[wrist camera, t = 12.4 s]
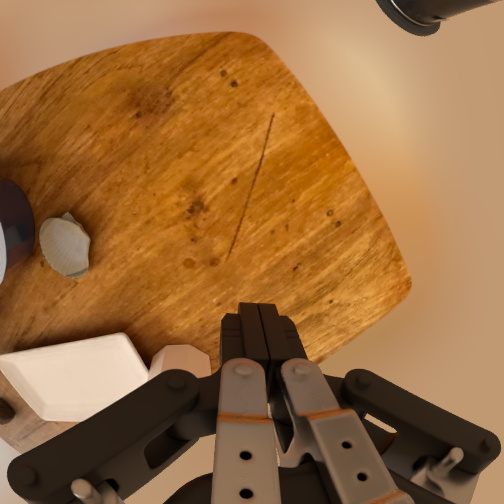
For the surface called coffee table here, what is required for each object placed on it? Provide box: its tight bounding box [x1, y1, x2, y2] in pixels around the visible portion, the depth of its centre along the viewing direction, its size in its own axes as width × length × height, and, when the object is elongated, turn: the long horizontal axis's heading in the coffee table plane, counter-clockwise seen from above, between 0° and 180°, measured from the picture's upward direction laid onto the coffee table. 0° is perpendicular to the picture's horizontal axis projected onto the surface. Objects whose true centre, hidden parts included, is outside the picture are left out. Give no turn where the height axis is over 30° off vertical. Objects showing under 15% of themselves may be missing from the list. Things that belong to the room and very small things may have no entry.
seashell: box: [39, 212, 90, 278], centre depth 28 cm, size 8×3×8 cm
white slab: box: [0, 332, 149, 422], centre depth 35 cm, size 17×31×4 cm, turn 105°
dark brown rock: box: [0, 400, 15, 425], centre depth 37 cm, size 6×7×10 cm
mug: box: [147, 344, 211, 382], centre depth 33 cm, size 12×9×10 cm
